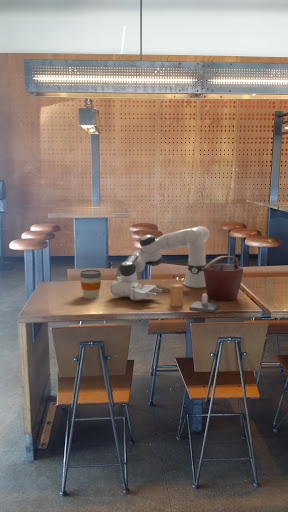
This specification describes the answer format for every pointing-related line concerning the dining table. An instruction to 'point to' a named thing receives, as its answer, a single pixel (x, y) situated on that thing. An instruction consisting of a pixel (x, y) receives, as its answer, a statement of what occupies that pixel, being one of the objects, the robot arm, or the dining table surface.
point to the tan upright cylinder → (176, 295)
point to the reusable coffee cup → (90, 283)
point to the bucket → (223, 279)
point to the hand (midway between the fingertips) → (159, 292)
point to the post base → (202, 308)
